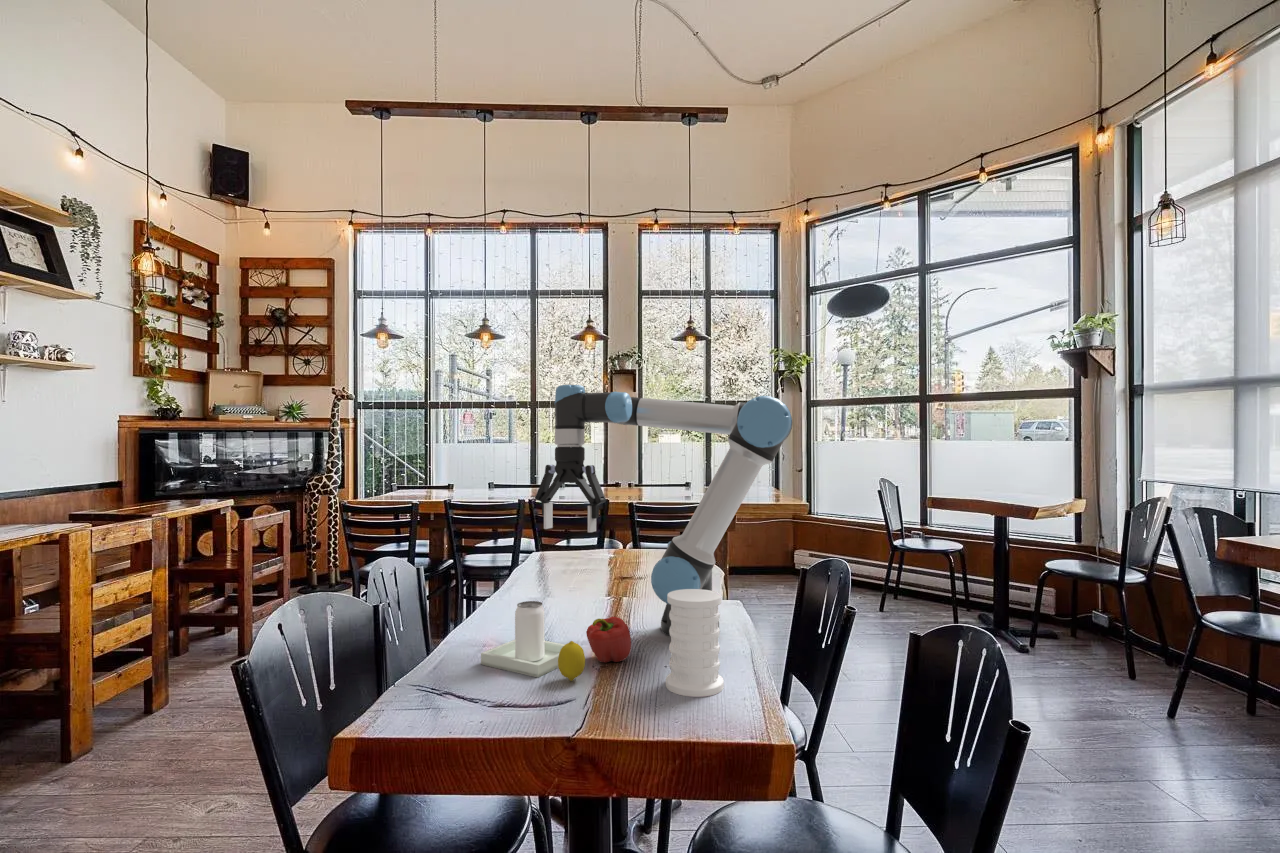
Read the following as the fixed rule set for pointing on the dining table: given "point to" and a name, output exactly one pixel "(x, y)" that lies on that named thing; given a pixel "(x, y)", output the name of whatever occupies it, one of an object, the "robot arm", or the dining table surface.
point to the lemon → (571, 660)
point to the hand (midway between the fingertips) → (569, 530)
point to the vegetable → (609, 639)
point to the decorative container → (694, 643)
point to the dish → (506, 660)
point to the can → (529, 631)
